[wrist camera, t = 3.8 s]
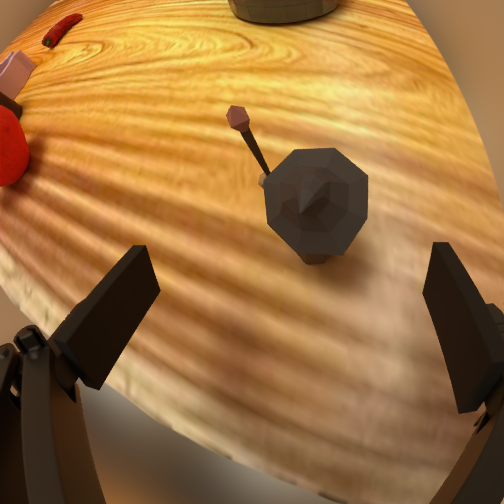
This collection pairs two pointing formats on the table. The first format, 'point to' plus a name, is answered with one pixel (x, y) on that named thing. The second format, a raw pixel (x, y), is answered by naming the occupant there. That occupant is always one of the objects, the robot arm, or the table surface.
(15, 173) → the apple
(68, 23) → the vegetable
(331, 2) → the basin
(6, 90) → the clip
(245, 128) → the wizard figurine
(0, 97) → the sculpture
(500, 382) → the robot arm
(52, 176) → the table surface
